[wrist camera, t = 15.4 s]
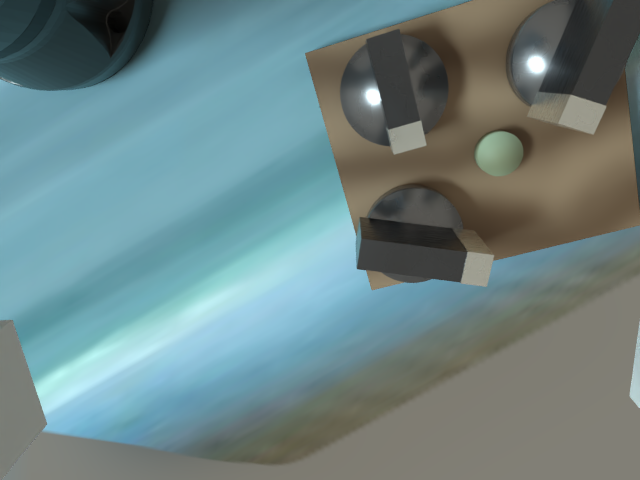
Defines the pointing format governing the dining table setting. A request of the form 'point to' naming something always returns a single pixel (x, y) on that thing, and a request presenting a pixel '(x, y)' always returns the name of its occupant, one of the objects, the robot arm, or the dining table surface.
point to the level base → (488, 142)
